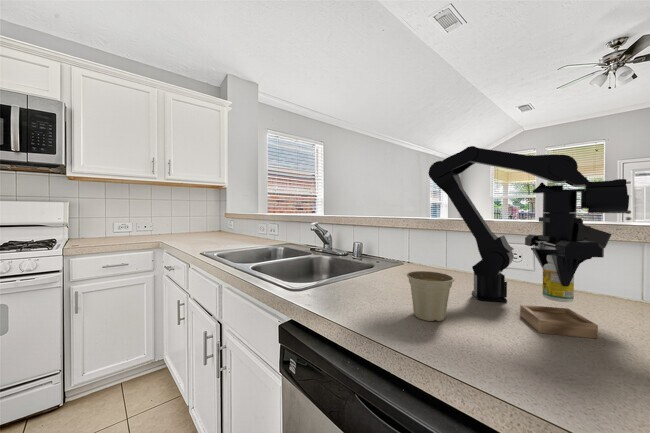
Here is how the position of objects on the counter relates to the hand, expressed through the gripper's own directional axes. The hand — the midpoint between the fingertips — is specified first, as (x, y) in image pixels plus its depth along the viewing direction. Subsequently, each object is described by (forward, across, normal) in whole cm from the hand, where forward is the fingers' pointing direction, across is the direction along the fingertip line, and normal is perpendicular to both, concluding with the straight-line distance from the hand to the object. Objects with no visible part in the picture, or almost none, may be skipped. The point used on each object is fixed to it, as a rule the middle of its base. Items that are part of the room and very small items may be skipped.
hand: (557, 282), depth 62 cm
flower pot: (+6, -11, +28) cm, 31 cm away
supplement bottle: (+4, 0, 0) cm, 4 cm away
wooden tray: (+6, -10, +5) cm, 13 cm away
